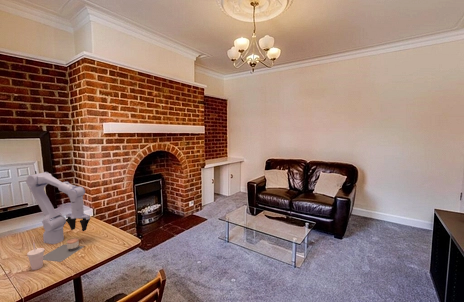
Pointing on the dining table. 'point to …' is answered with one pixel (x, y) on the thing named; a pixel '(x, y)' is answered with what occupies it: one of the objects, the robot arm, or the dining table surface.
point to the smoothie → (36, 257)
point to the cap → (72, 243)
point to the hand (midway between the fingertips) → (78, 230)
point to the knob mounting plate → (61, 253)
